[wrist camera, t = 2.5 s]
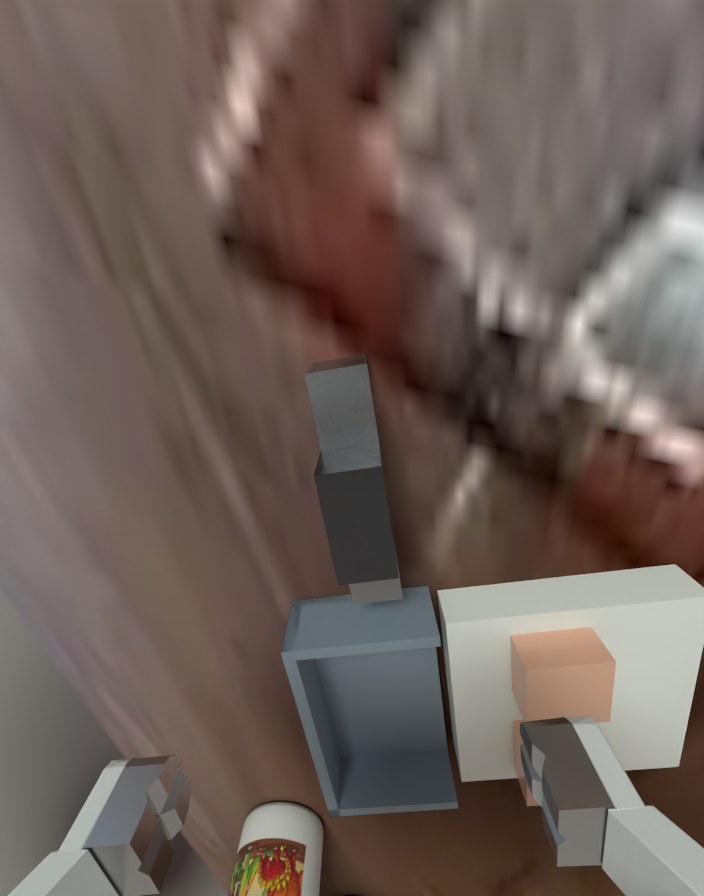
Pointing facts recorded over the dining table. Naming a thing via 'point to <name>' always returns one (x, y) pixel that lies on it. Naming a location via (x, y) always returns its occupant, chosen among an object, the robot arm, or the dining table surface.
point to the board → (569, 607)
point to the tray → (371, 702)
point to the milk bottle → (279, 852)
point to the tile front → (562, 675)
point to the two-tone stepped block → (353, 480)
